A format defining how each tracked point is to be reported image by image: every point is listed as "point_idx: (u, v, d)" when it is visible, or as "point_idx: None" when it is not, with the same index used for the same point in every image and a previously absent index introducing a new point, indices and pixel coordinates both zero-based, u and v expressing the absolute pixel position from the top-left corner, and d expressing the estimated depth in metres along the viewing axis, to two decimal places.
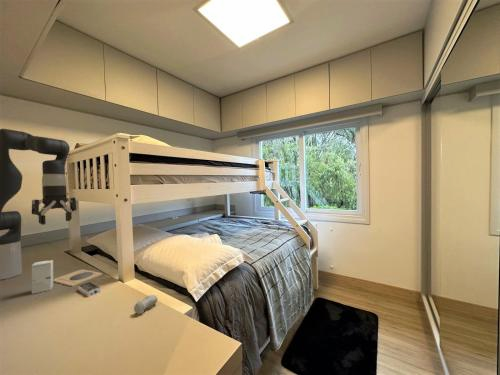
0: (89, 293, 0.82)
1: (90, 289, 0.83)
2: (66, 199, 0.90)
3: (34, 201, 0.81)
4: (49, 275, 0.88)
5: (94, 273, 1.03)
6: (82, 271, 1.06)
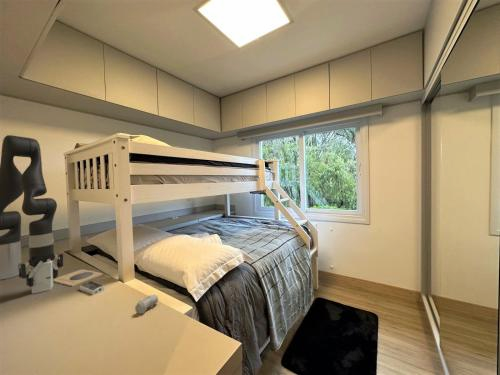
0: (94, 291, 0.83)
1: (94, 287, 0.85)
2: (53, 256, 0.91)
3: (20, 266, 0.82)
4: (49, 275, 0.88)
5: (94, 273, 1.03)
6: (82, 271, 1.06)
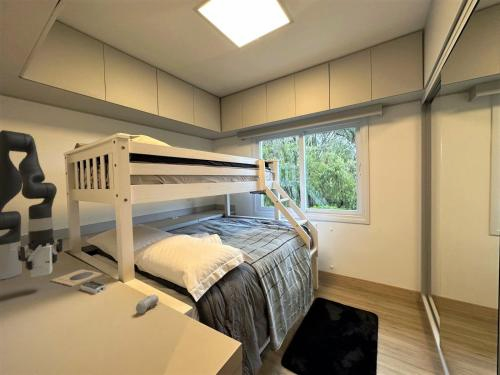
0: (96, 290, 0.84)
1: (96, 287, 0.85)
2: (53, 241, 0.91)
3: (19, 248, 0.82)
4: (48, 259, 0.88)
5: (94, 273, 1.03)
6: (82, 271, 1.06)
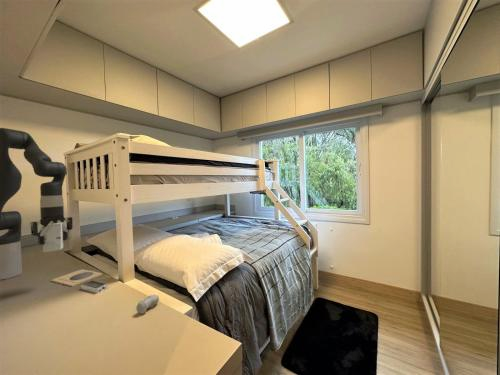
0: (98, 290, 0.84)
1: (97, 286, 0.86)
2: (63, 219, 0.94)
3: (32, 223, 0.85)
4: (59, 235, 0.91)
5: (94, 273, 1.03)
6: (82, 271, 1.06)
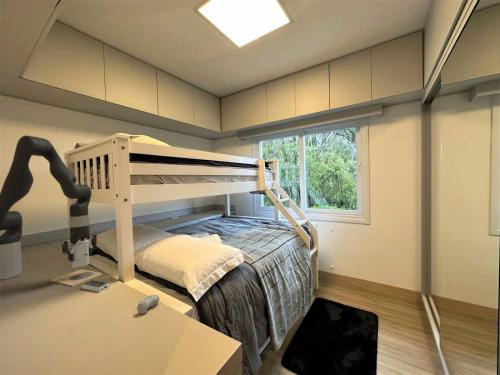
0: (100, 289, 0.85)
1: (99, 285, 0.87)
2: (89, 236, 1.03)
3: (63, 242, 0.94)
4: (86, 252, 1.00)
5: (94, 273, 1.03)
6: (82, 271, 1.06)
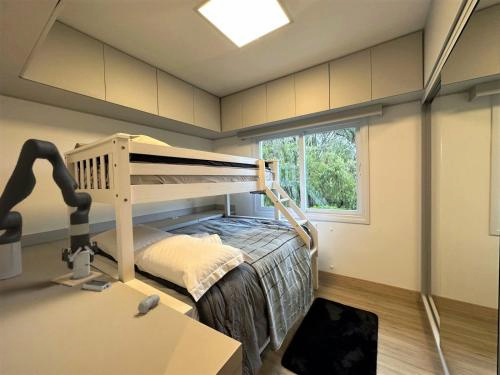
0: (102, 287, 0.86)
1: (101, 284, 0.87)
2: (89, 244, 1.03)
3: (64, 250, 0.94)
4: (87, 262, 1.00)
5: (94, 273, 1.03)
6: None
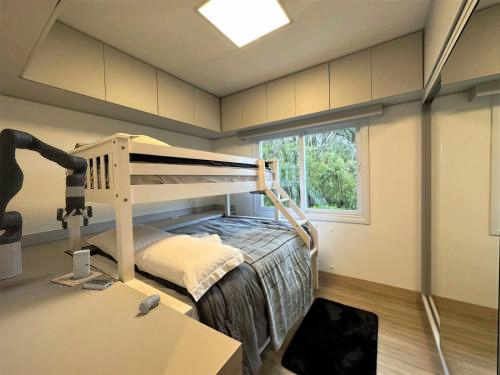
0: (105, 286, 0.87)
1: (104, 283, 0.88)
2: (84, 207, 1.06)
3: (59, 210, 0.96)
4: (87, 262, 1.00)
5: (94, 273, 1.03)
6: None
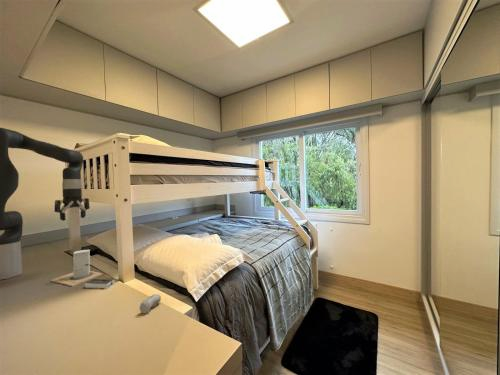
0: (107, 285, 0.88)
1: (105, 282, 0.89)
2: (81, 199, 1.09)
3: (56, 201, 0.99)
4: (87, 262, 1.00)
5: (94, 273, 1.03)
6: None
